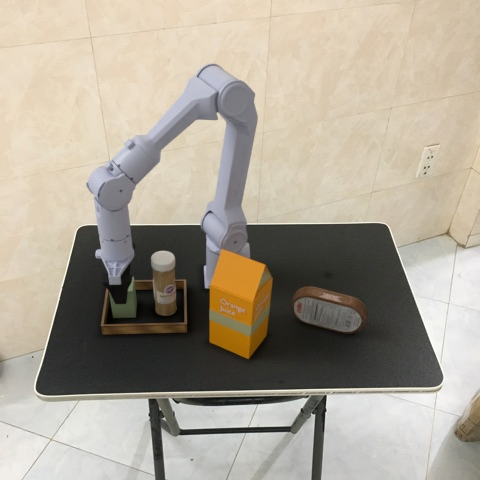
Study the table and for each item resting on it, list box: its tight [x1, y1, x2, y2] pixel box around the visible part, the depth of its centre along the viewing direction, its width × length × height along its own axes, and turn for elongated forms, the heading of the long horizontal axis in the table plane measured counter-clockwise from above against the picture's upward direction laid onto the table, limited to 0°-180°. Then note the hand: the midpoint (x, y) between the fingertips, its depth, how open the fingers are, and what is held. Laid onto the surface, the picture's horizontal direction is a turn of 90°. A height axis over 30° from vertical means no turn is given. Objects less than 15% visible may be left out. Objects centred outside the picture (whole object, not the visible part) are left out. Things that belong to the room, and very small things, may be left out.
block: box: [109, 276, 138, 319], centre depth 110 cm, size 4×4×7 cm
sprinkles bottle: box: [150, 250, 178, 317], centre depth 109 cm, size 5×5×13 cm
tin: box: [290, 286, 369, 335], centre depth 109 cm, size 15×3×8 cm, turn 71°
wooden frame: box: [100, 278, 188, 336], centre depth 112 cm, size 16×14×2 cm
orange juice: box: [208, 249, 274, 360], centre depth 101 cm, size 8×9×20 cm
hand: (122, 290), depth 109 cm, fingers open, 7 cm apart
